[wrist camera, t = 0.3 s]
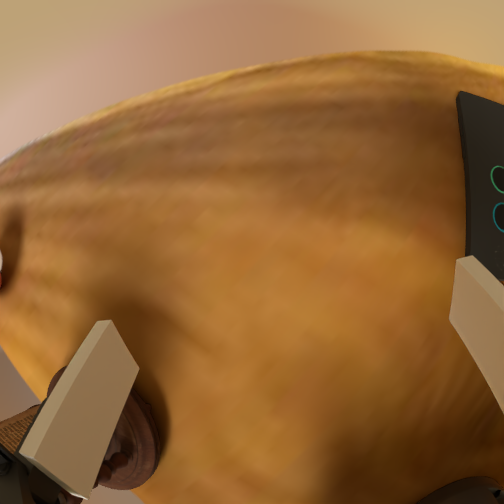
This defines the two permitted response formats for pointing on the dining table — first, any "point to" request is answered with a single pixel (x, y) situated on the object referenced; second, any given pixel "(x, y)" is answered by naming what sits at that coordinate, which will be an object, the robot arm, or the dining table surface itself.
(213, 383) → the dining table surface
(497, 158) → the smart home device
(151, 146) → the dining table surface
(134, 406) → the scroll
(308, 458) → the dining table surface
